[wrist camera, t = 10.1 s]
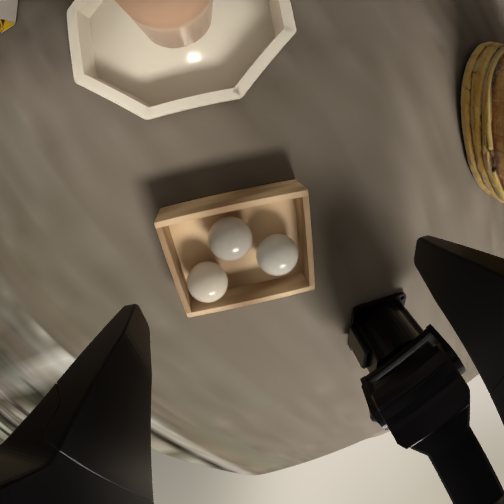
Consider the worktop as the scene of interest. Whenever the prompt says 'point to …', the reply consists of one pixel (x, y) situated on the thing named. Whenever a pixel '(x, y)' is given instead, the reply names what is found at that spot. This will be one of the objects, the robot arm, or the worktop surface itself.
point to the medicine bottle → (7, 14)
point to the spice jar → (170, 19)
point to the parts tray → (247, 268)
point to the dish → (175, 55)
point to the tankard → (485, 116)
